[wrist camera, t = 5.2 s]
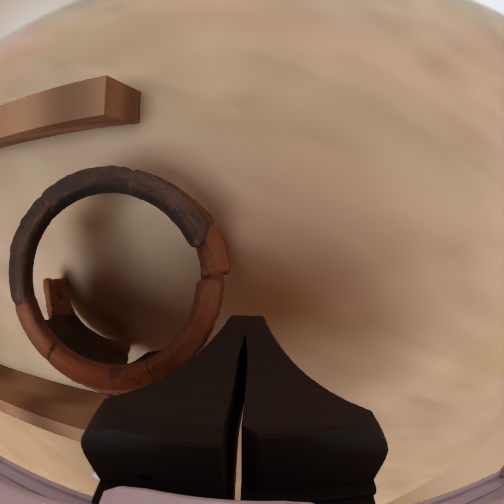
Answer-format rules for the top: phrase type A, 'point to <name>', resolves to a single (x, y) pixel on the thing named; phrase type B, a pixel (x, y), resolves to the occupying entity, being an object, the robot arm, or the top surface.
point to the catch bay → (39, 126)
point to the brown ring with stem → (59, 305)
